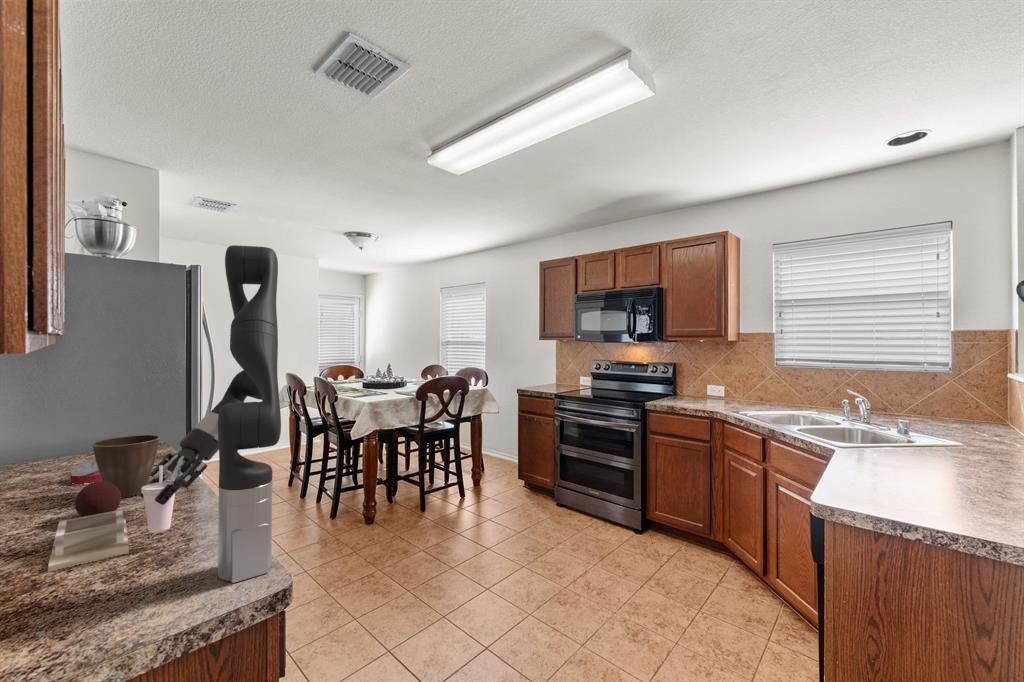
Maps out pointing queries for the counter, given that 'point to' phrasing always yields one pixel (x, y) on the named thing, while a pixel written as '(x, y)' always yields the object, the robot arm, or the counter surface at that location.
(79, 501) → the potato
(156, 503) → the smoothie
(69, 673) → the counter surface
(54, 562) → the dock
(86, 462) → the canned food
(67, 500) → the counter surface
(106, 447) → the plant pot
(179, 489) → the robot arm
